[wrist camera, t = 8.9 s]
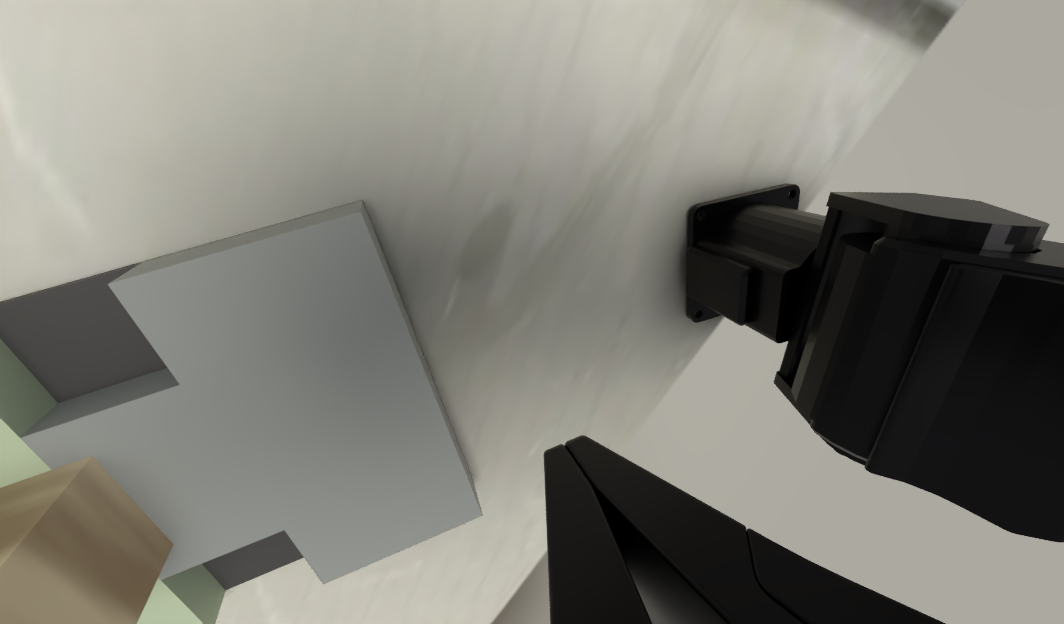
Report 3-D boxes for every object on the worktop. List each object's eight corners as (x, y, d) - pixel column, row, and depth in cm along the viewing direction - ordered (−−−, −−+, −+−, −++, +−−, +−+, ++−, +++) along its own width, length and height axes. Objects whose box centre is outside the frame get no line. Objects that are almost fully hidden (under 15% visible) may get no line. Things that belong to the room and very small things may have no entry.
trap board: (362, 199, 18) (359, 220, 14) (473, 480, 25) (489, 539, 22) (-213, 362, 14) (-400, 440, 11) (107, 633, 22) (56, 731, 18)
